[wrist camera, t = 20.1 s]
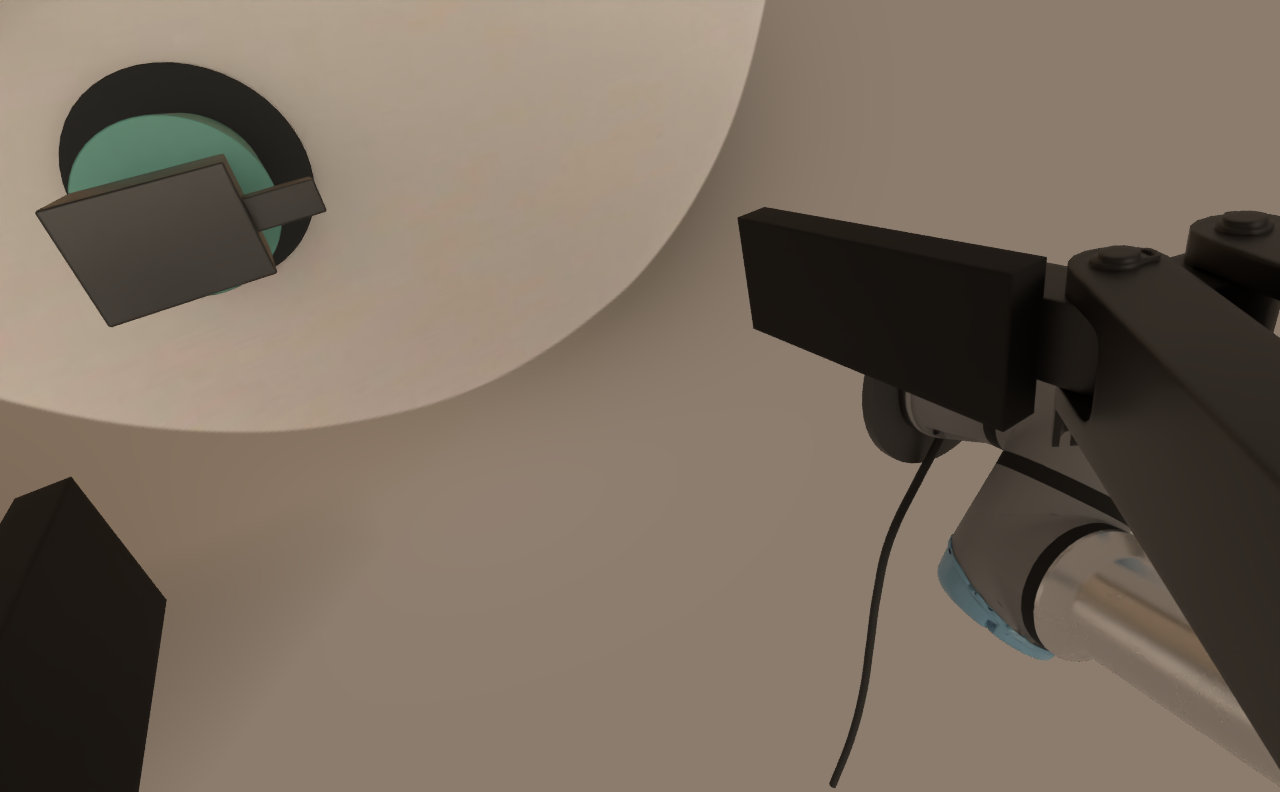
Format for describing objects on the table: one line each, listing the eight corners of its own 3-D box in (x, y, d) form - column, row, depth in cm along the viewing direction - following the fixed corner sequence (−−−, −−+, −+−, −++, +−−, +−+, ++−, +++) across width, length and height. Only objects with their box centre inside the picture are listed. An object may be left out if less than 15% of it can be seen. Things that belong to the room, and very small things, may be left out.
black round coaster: (346, 246, 40) (347, 247, 39) (140, 313, 36) (139, 315, 36) (257, 40, 35) (257, 39, 34) (5, 93, 31) (1, 93, 30)
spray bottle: (162, 259, 35) (102, 394, 19) (88, 132, 32) (-62, 156, 16) (306, 215, 38) (367, 299, 21) (251, 93, 35) (272, 79, 18)
